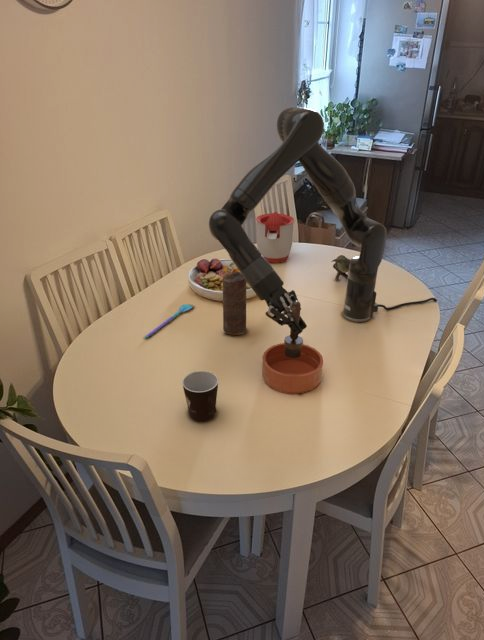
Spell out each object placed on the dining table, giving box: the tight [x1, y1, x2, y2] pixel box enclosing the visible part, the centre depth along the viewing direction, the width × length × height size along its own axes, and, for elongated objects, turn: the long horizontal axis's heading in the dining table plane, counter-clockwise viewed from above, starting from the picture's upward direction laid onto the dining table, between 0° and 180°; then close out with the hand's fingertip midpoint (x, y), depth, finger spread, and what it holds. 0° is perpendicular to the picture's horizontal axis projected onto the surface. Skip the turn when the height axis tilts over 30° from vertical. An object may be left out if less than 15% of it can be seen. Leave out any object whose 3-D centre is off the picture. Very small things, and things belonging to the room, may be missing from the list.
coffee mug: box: [181, 370, 219, 423], centre depth 119 cm, size 12×9×10 cm
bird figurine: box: [331, 254, 351, 281], centre depth 190 cm, size 13×10×20 cm
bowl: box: [187, 257, 257, 302], centre depth 183 cm, size 30×30×8 cm
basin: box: [261, 342, 324, 395], centre depth 136 cm, size 17×17×6 cm
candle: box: [222, 272, 247, 336], centre depth 152 cm, size 8×7×20 cm
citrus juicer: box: [255, 211, 295, 263], centre depth 203 cm, size 16×17×20 cm
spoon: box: [145, 304, 194, 339], centre depth 161 cm, size 25×4×1 cm, turn 158°
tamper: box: [283, 300, 304, 358], centre depth 129 cm, size 5×5×16 cm
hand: (301, 330), depth 128 cm, fingers closed on tamper
